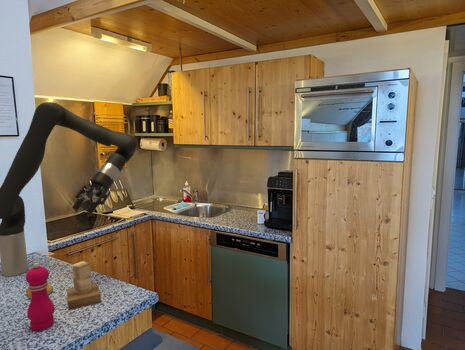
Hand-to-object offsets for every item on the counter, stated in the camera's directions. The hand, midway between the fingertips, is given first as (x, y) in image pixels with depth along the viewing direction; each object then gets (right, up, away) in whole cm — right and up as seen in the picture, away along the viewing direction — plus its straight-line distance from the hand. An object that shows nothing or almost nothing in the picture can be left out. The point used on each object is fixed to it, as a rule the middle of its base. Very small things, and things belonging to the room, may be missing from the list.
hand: (81, 211), depth 123 cm
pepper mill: (-2, -33, -21) cm, 39 cm away
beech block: (+4, -27, -7) cm, 28 cm away
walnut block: (+4, -30, -7) cm, 31 cm away
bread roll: (-15, -30, -2) cm, 34 cm away
